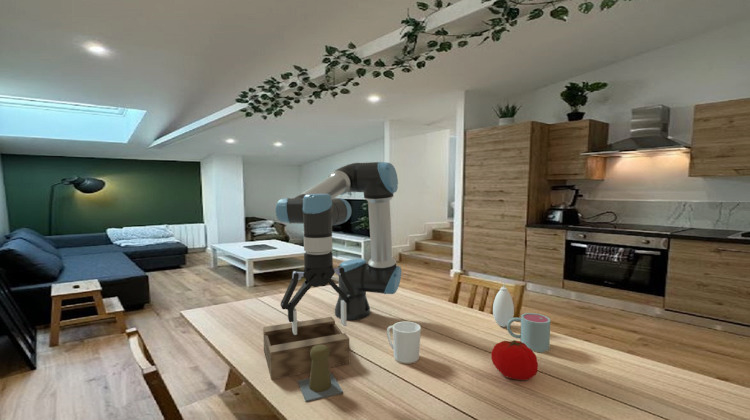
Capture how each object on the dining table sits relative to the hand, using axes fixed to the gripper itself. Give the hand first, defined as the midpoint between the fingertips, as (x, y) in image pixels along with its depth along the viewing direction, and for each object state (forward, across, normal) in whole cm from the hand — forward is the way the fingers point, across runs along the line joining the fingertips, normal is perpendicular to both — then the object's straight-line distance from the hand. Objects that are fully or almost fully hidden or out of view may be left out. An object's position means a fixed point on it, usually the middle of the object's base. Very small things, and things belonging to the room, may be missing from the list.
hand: (319, 328), depth 96 cm
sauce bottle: (+18, -76, -12) cm, 80 cm away
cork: (+16, 0, 0) cm, 16 cm away
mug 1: (+17, -28, -6) cm, 34 cm away
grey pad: (+16, 0, 0) cm, 16 cm away
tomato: (+17, -54, +16) cm, 59 cm away
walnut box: (+17, 0, -18) cm, 25 cm away
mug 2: (+18, -72, +4) cm, 75 cm away
